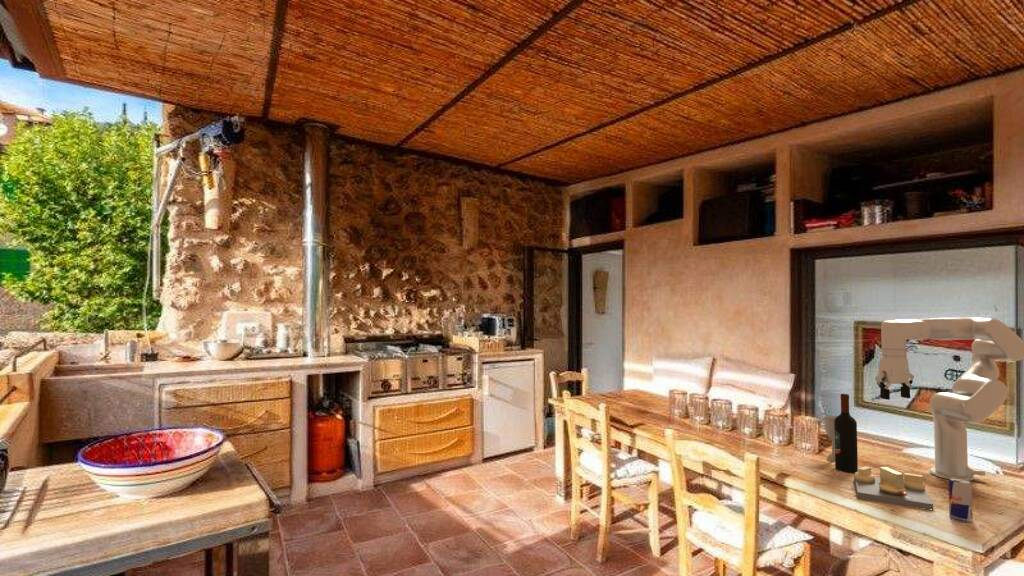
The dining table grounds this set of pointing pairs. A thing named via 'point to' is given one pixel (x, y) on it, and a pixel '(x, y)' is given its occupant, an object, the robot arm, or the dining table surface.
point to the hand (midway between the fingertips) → (895, 398)
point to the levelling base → (913, 487)
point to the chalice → (830, 434)
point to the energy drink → (960, 500)
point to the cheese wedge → (891, 482)
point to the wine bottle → (845, 439)
